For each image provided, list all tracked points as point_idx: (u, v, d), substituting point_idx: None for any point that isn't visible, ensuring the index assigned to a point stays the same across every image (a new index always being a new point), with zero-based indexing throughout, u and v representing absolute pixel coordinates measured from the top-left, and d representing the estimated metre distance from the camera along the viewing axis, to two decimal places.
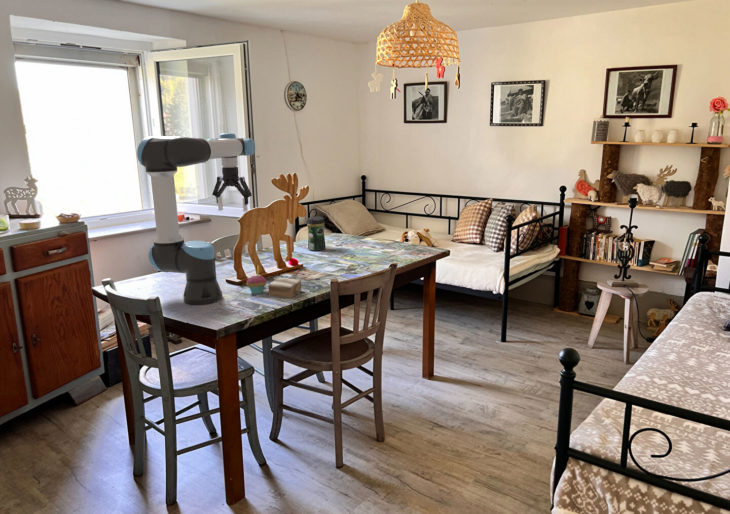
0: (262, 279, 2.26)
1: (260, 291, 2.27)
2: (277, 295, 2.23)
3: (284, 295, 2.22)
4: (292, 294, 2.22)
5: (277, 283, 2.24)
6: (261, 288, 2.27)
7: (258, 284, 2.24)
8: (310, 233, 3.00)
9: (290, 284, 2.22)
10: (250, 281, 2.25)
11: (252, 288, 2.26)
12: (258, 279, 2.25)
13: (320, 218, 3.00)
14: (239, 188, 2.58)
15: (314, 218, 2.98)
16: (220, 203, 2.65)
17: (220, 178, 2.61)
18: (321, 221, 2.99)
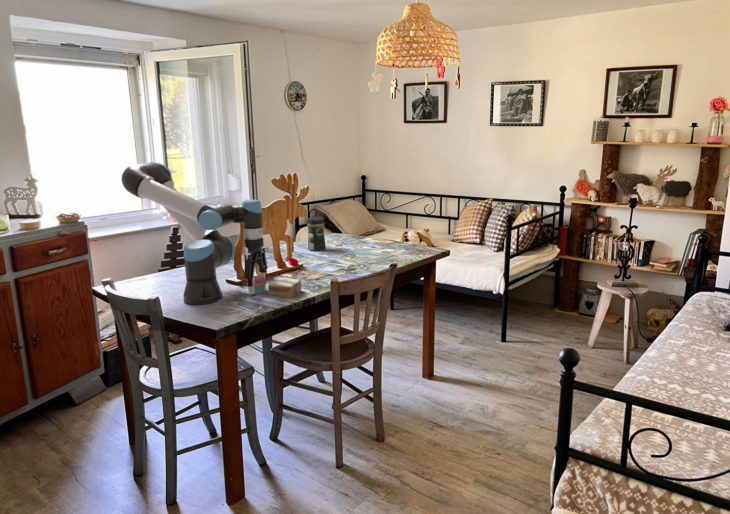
0: (262, 279, 2.26)
1: (260, 291, 2.27)
2: (277, 295, 2.23)
3: (284, 295, 2.22)
4: (292, 294, 2.22)
5: (277, 283, 2.24)
6: (261, 288, 2.27)
7: (258, 284, 2.24)
8: (310, 233, 3.00)
9: (290, 284, 2.22)
10: None
11: None
12: (258, 279, 2.25)
13: (320, 218, 3.00)
14: None
15: (314, 218, 2.98)
16: None
17: None
18: (321, 221, 2.99)
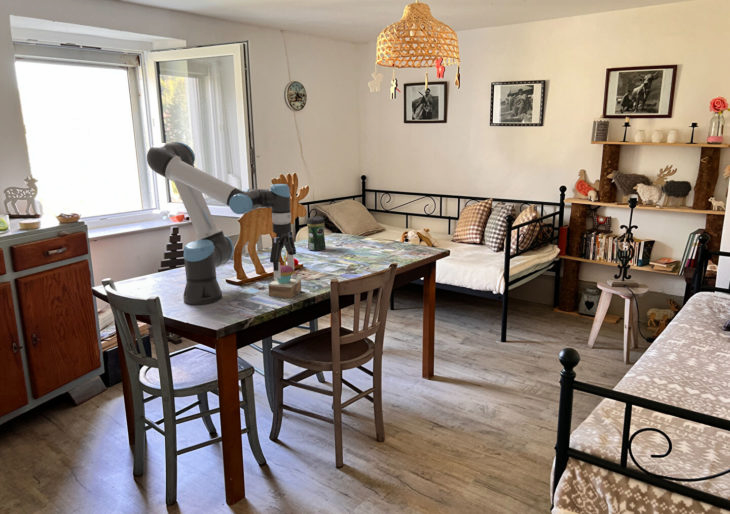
0: (289, 268, 2.23)
1: (287, 280, 2.24)
2: (277, 295, 2.23)
3: (284, 295, 2.22)
4: (292, 294, 2.22)
5: (277, 283, 2.24)
6: (288, 277, 2.24)
7: (286, 273, 2.21)
8: (310, 233, 3.00)
9: (290, 284, 2.22)
10: None
11: None
12: (285, 268, 2.22)
13: (320, 218, 3.00)
14: None
15: (314, 218, 2.98)
16: (289, 262, 2.30)
17: None
18: (321, 221, 2.99)
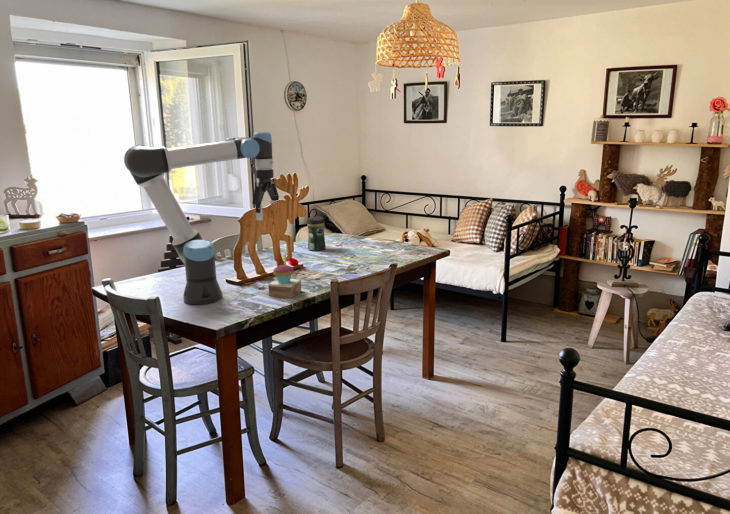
0: (289, 268, 2.23)
1: (287, 281, 2.24)
2: (277, 295, 2.23)
3: (284, 295, 2.22)
4: (292, 294, 2.22)
5: (277, 283, 2.24)
6: (288, 277, 2.24)
7: (286, 273, 2.21)
8: (310, 233, 3.00)
9: (290, 284, 2.22)
10: (277, 270, 2.22)
11: (279, 277, 2.23)
12: (285, 268, 2.22)
13: (320, 218, 3.00)
14: None
15: (314, 218, 2.98)
16: None
17: None
18: (321, 221, 2.99)
